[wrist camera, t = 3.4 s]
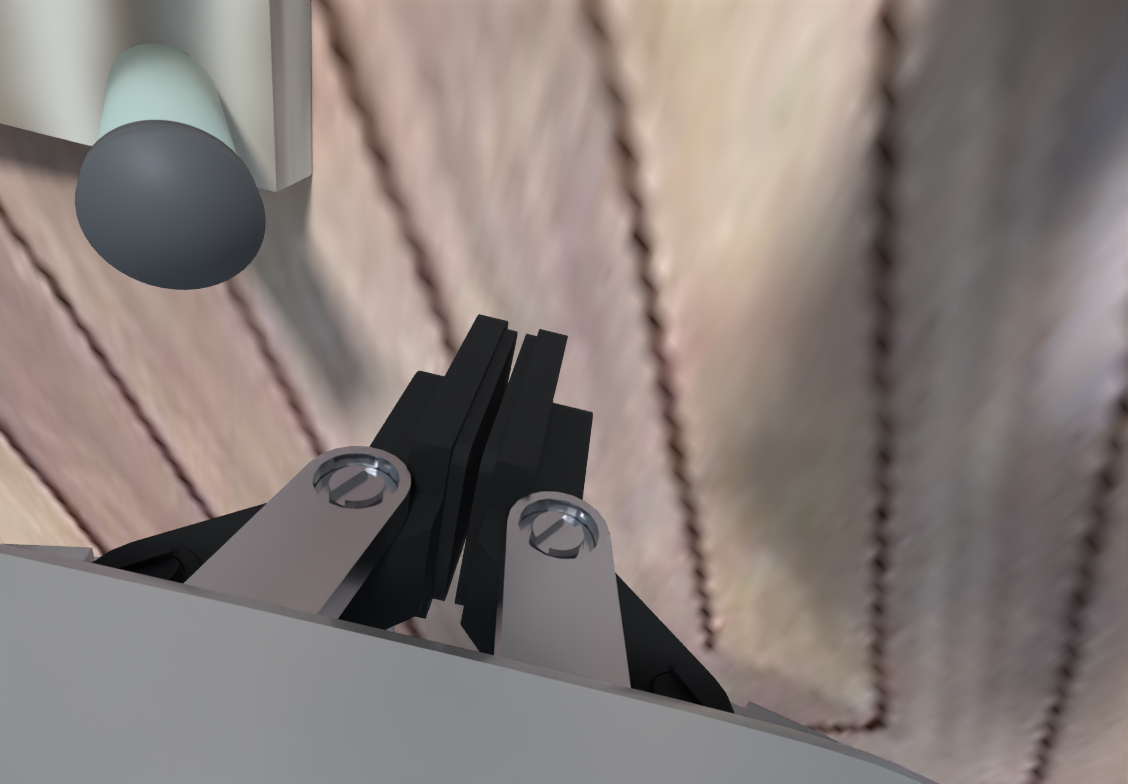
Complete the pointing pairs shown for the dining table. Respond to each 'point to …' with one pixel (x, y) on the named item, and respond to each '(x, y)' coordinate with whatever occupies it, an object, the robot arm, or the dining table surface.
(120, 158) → the hinged leg
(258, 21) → the stool
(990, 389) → the dining table surface
